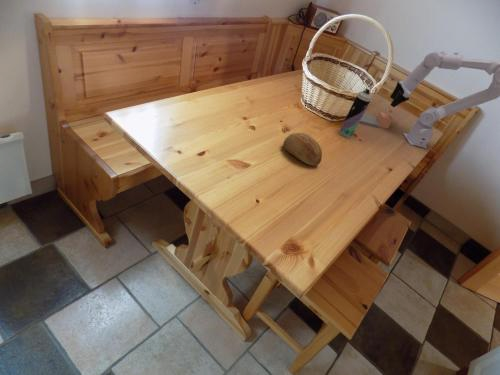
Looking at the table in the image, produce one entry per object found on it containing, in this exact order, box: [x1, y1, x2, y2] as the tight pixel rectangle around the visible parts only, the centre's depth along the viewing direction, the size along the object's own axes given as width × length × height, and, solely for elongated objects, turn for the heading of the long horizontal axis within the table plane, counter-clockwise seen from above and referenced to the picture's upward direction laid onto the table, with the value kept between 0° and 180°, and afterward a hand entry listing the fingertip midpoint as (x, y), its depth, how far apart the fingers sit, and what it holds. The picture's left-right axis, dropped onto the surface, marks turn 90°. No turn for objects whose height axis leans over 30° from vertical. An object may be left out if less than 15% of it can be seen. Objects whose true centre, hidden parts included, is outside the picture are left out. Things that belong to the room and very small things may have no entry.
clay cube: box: [376, 111, 394, 130], centre depth 148 cm, size 5×5×5 cm
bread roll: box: [282, 132, 323, 167], centre depth 108 cm, size 10×15×8 cm, turn 49°
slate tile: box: [358, 112, 381, 129], centre depth 149 cm, size 10×10×1 cm
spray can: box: [339, 87, 372, 139], centre depth 127 cm, size 6×6×20 cm
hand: (391, 102), depth 146 cm, fingers open, 7 cm apart
